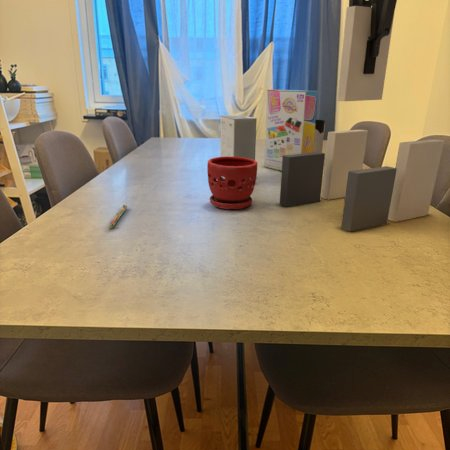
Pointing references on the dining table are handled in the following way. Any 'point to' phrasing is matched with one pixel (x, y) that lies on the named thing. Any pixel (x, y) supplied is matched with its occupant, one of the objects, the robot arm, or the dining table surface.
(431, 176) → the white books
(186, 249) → the dining table surface
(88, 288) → the dining table surface
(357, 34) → the white book
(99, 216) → the dining table surface
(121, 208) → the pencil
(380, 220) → the grey books
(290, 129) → the game box
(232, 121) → the hard drive box
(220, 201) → the flower pot
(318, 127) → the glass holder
